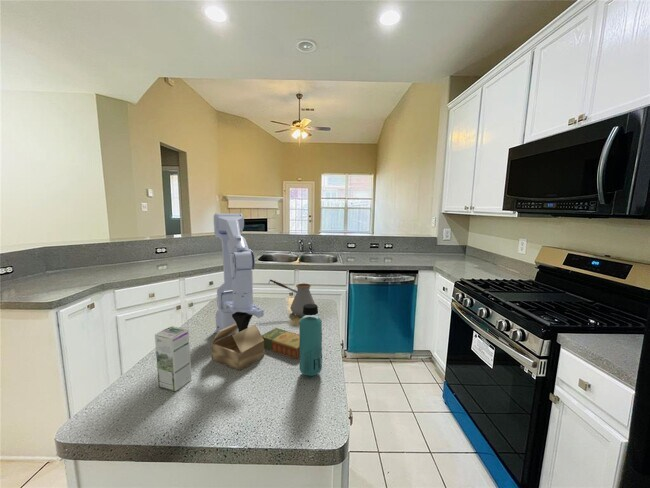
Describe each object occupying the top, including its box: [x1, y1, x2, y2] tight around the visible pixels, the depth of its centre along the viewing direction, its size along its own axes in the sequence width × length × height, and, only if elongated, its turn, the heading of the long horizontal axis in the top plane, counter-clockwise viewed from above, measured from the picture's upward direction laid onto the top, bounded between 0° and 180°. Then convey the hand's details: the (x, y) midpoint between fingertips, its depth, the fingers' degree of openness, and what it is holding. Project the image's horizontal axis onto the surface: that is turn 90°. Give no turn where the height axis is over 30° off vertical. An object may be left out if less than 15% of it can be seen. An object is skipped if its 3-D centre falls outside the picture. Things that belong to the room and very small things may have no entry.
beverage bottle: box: [298, 303, 323, 377], centre depth 79 cm, size 6×7×20 cm
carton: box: [261, 327, 300, 361], centre depth 95 cm, size 8×16×4 cm, turn 58°
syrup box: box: [154, 325, 192, 392], centre depth 74 cm, size 6×6×14 cm
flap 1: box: [211, 323, 238, 344], centre depth 90 cm, size 6×9×1 cm
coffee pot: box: [267, 279, 316, 318], centre depth 126 cm, size 21×12×15 cm, turn 84°
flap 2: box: [232, 324, 264, 353], centre depth 85 cm, size 6×9×1 cm
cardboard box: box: [210, 332, 265, 372], centre depth 88 cm, size 12×10×5 cm
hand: (243, 335), depth 86 cm, fingers closed, pressing on flap 2
